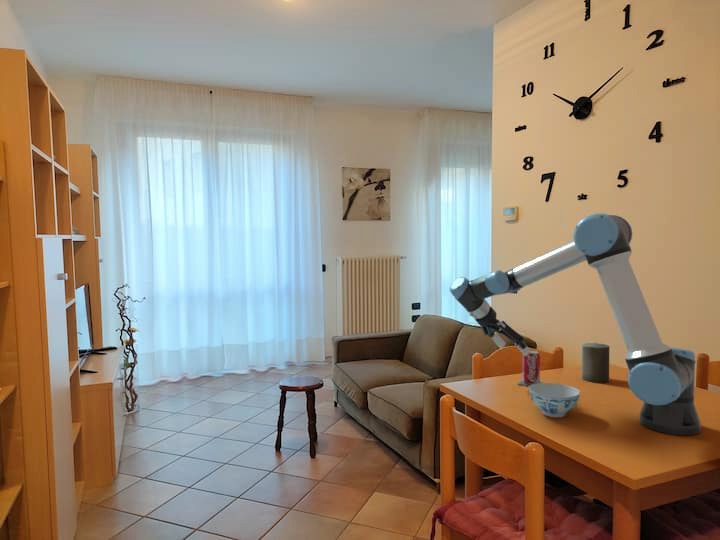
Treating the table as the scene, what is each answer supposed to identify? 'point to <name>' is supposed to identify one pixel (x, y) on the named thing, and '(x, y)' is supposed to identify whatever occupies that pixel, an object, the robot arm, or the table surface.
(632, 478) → the table surface
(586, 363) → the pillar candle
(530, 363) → the beverage can
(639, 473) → the table surface
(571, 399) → the chinaware
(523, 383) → the mat
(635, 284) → the robot arm
